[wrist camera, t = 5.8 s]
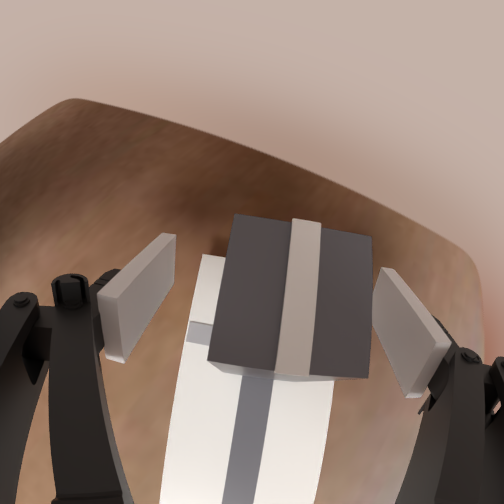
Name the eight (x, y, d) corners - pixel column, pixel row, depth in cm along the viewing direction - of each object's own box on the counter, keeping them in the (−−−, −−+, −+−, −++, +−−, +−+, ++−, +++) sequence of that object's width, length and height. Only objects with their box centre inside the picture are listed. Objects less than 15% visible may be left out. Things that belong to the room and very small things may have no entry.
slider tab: (294, 382, 16) (370, 379, 7) (222, 373, 16) (205, 361, 7) (301, 313, 18) (373, 232, 8) (234, 303, 18) (235, 209, 8)
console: (284, 582, 11) (288, 596, 9) (157, 567, 11) (151, 580, 9) (334, 285, 21) (343, 275, 19) (204, 265, 21) (201, 253, 19)
